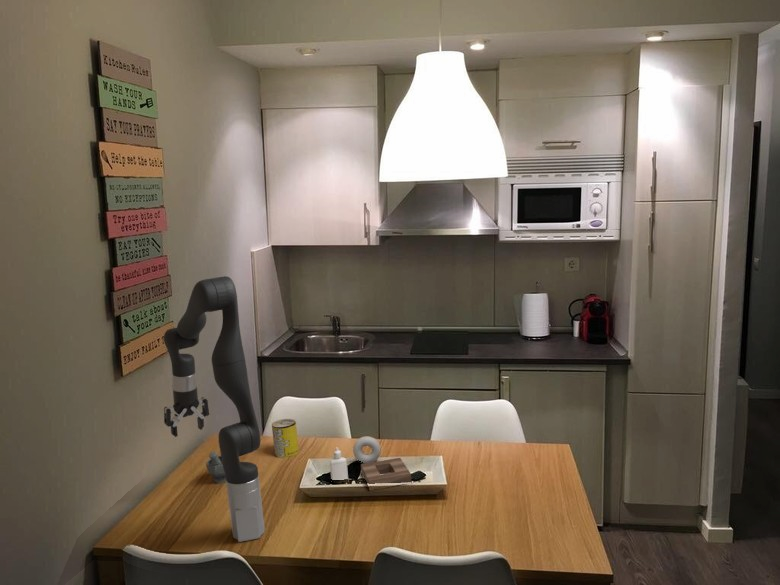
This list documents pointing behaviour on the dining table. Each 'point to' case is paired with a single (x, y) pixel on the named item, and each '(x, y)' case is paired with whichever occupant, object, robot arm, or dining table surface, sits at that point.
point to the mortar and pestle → (216, 467)
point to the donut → (371, 443)
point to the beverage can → (285, 438)
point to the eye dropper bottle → (338, 466)
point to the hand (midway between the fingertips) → (188, 432)
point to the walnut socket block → (386, 471)
